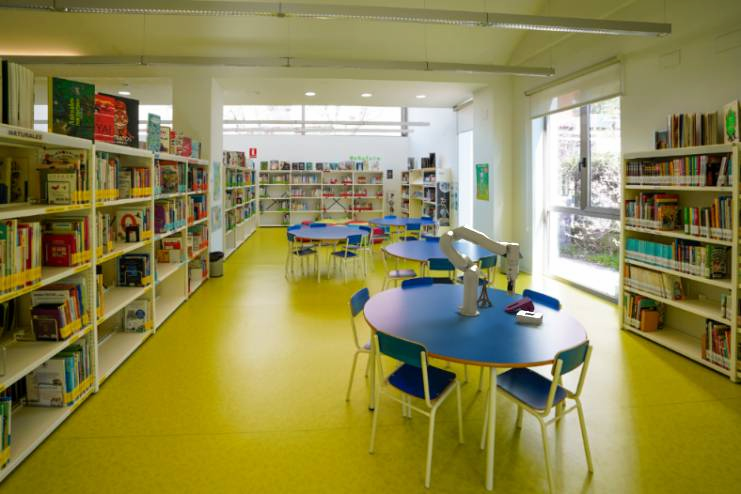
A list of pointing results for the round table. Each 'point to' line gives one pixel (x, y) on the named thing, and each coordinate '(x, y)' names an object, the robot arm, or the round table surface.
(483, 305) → the eiffel tower
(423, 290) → the round table surface
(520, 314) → the collar block
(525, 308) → the maroon shoe
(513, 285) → the wedge pin
